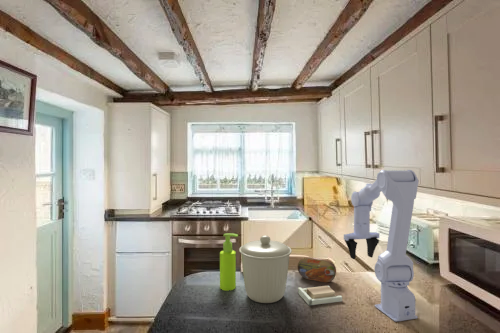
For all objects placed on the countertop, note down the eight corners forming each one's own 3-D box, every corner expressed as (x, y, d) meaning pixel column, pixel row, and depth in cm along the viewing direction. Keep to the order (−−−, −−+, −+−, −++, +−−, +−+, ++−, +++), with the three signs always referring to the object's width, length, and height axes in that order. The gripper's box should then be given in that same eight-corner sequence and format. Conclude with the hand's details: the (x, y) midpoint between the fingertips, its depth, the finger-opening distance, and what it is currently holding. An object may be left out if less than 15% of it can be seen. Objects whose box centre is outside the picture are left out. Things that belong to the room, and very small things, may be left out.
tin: (297, 277, 116) (297, 256, 116) (299, 274, 118) (299, 254, 118) (335, 284, 109) (335, 262, 108) (336, 281, 111) (337, 260, 111)
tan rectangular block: (334, 300, 97) (334, 291, 97) (313, 303, 95) (313, 294, 95) (327, 294, 102) (327, 285, 102) (306, 296, 100) (306, 288, 99)
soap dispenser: (236, 291, 103) (236, 236, 102) (217, 289, 104) (217, 235, 104) (240, 284, 108) (240, 232, 108) (222, 283, 110) (222, 231, 110)
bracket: (342, 301, 96) (342, 295, 96) (309, 305, 93) (309, 299, 93) (328, 289, 104) (328, 284, 104) (298, 293, 101) (298, 287, 101)
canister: (289, 312, 88) (289, 244, 88) (233, 306, 92) (233, 241, 92) (292, 287, 106) (293, 230, 106) (245, 283, 110) (245, 228, 110)
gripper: (371, 219, 117) (371, 252, 117) (339, 221, 113) (339, 255, 113) (383, 223, 110) (383, 258, 110) (349, 225, 106) (349, 261, 107)
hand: (361, 257), depth 111 cm, fingers open, 7 cm apart
